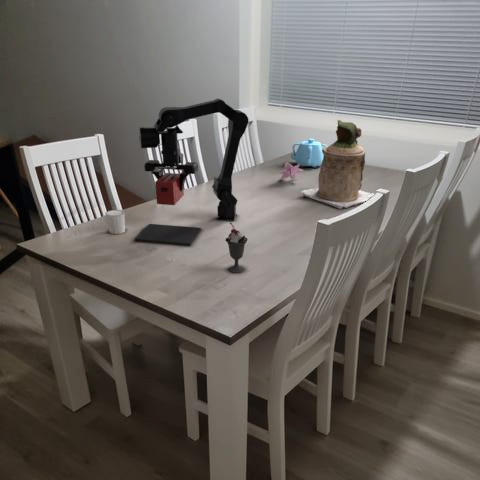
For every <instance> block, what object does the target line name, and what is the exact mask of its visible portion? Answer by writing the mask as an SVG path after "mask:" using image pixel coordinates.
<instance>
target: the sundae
mask: <svg viewBox="0 0 480 480" xmlns="http://www.w3.org/2000/svg"><path fill="white" fill-rule="evenodd" d="M229 224H230V225H231V227H232V229H231V230H230V233H229V234H228V236H227V237H226V238H225V242H226V243H227V245H228V252H229V256H230V257H231V258H232V259H233V260H234V265H231V266H230V267H228V271H229V272H230V273H232V274H240V273H242V272H245V267H243V266H242V265H239V260H240V259H242V258H243V256H244V253H245V245H246V243H247V242H248V237H246V236H245V235H244V234H243V233H242V232H241V231H240V230H238V229H236V228H235V226H234V225H233V222H229Z"/></svg>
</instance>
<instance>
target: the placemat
mask: <svg viewBox="0 0 480 480" xmlns="http://www.w3.org/2000/svg"><path fill="white" fill-rule="evenodd" d="M201 231H202V228H201V227H197V226H182V225H171V224H158V223H157V224H156V223H148V225H146V227H145V228H143V230H142V231H141V232H139V234H138V235H137V236H136V237H135V239H134V241H135V243H136V242H138V243H150V244H161V245H163V244H164V245H173V246H187V247H191V246H192V245H193V243H194V241H195V240H196V238H197V237H198V235H199V234H200V232H201Z"/></svg>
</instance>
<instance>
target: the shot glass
mask: <svg viewBox="0 0 480 480" xmlns="http://www.w3.org/2000/svg"><path fill="white" fill-rule="evenodd" d="M125 214H126V213H125V211H124V210H122V209H112V210H107V211H106V212H105V219H106V224H107V227H108V231H109V233H110V234H113V235H119V234H123V233H125V232H126V218H125V217H126V215H125Z"/></svg>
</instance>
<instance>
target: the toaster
mask: <svg viewBox="0 0 480 480" xmlns="http://www.w3.org/2000/svg"><path fill="white" fill-rule="evenodd" d="M154 184H155V185H154V186H155V196H156V204H157V205H165V206H175V205H176V204H177V203H178V202H179V201H180V200H181V199H182V198H183V197H184V195H185V190H184V189H185V188H184V187H183V190H182V191H181V190H180V173H176V172H175V173H174V172H173V173H172V172H165V173H163V176H162V177H160V178H159V179H158V180H157V179H156V180H155V182H154Z"/></svg>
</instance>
